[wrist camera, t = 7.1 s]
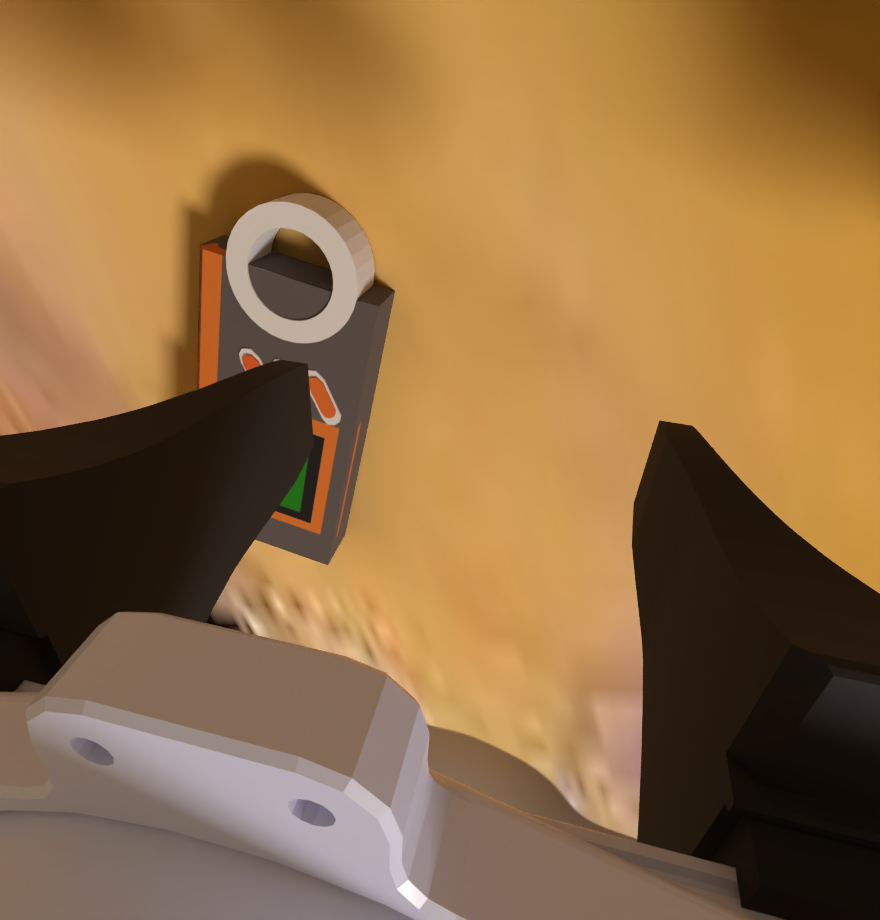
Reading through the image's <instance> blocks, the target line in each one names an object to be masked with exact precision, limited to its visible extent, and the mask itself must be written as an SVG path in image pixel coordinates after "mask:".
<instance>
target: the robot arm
mask: <svg viewBox="0 0 880 920" xmlns="http://www.w3.org/2000/svg"><path fill="white" fill-rule="evenodd" d="M313 446H314V440H313V426H312V413H311V400H310V386H309V373H308V364H305V363H299V362H293V361H287V360H277V361H273V362H269V363H266V364H263V365H260V366H257V367H255V368H252V369H249V370H247V371H244V372H241V373H239V374H236V375H234V376H231V377H229V378H226V379H223V380H221V381H218V382H216V383H213V384H211V385H208V386H205V387H203V388H200V389H197V390H195V391H192V392H189V393H186V394H183V395H180V396H177V397H174V398H172V399H169V400H166V401H163V402H160V403H157V404H154V405H151V406H148V407H144V408H141V409H137V410H134V411H130V412H126V413H122V414H119V415H115V416H111V417H107V418H103V419H98V420H94V421H89V422H83V423H78V424H73V425H67V426H62V427H57V428H52V429H46V430H40V431H34V432H26V433H19V434H11V435H3V436H0V920H880V594H879V593H878V592H876V591H875V590H873V589H872V588H870V587H869V586H867V585H866V584H864V583H863V582H861V581H860V580H858V579H857V578H855V577H854V576H852V575H851V574H849V573H848V572H846V571H845V570H844V569H842V568H841V567H839V566H838V565H837V564H835V563H834V562H832V561H831V560H830V559H828V558H827V557H826V556H824V555H823V554H822V553H820V552H819V551H818V550H817V549H816V548H814V547H813V546H812V545H811V544H809V543H808V542H807V541H806V540H804V539H803V538H802V537H801V536H799V535H798V534H797V533H796V532H794V531H793V530H792V529H791V528H790V527H789V526H787V525H786V524H785V523H784V522H783V521H782V520H781V519H780V518H779V517H778V516H776V515H775V514H774V513H773V512H772V511H771V510H770V509H769V508H768V507H767V506H766V505H765V504H764V503H763V502H762V501H761V500H760V499H759V498H758V497H757V496H756V495H755V494H754V493H753V492H752V491H751V490H750V489H749V488H748V487H747V486H746V485H745V484H744V483H743V482H742V481H741V480H740V478H739V477H738V476H737V475H736V474H735V473H734V472H733V471H732V470H731V469H730V467H729V466H728V465H727V464H726V463H725V462H724V461H723V460H722V458H721V457H720V456H719V455H718V454H717V453H716V451H715V450H714V449H713V448H712V447H711V446H710V444H709V443H708V442H707V441H706V440H705V439H704V438H703V436H702V435H701V434H700V433H699V432H698V431H697V430H696V429H695V428H694V427H693V426H690V425H684V424H678V423H671V422H665V421H659V424H658V427H657V431H656V434H655V437H654V440H653V443H652V447H651V450H650V453H649V456H648V459H647V463H646V466H645V469H644V472H643V476H642V479H641V482H640V485H639V488H638V492H637V495H636V498H635V501H634V510H633V532H632V550H633V560H634V570H635V580H636V589H637V599H638V608H639V617H640V626H641V635H642V649H643V718H642V756H641V780H640V803H639V823H638V839H637V842H636V841H632V840H628V839H624V838H621V837H616V836H613V835H609V834H605V833H602V832H598V831H594V830H590V829H587V828H583V827H579V826H575V825H571V824H567V823H564V822H560V821H556V820H553V819H549V818H545V817H541V816H537V815H534V814H530V813H526V812H522V811H519V810H517V809H515V808H513V807H511V806H509V805H506V804H504V803H502V802H500V801H498V800H496V799H494V798H491V797H489V796H487V795H485V794H483V793H481V792H479V791H476V790H474V789H472V788H470V787H468V786H465V785H463V784H461V783H459V782H457V781H455V780H453V779H451V778H448V777H446V776H444V775H442V774H440V773H438V772H435V771H433V770H431V769H429V768H428V763H427V756H428V746H429V731H428V728H427V725H426V722H425V719H424V716H423V713H422V710H421V707H420V705H419V704H418V702H417V701H416V700H415V698H414V697H413V696H411V695H410V694H409V693H408V692H407V691H406V690H405V689H403V688H402V687H401V686H400V685H399V684H398V683H397V682H396V681H394V680H393V679H392V678H391V677H390V676H389V675H388V674H386V673H385V672H383V671H380V670H378V669H375V668H373V667H370V666H368V665H365V664H363V663H361V662H358V661H356V660H353V659H351V658H348V657H346V656H342V655H338V654H334V653H329V652H325V651H321V650H317V649H312V648H308V647H304V646H300V645H295V644H291V643H287V642H283V641H278V640H274V639H270V638H266V637H262V636H257V635H253V634H249V633H245V632H240V631H236V630H232V629H228V628H223V627H219V626H215V625H211V624H206V621H207V619H208V617H209V615H210V613H211V611H212V609H213V607H214V605H215V604H216V602H217V600H218V598H219V596H220V594H221V593H222V591H223V589H224V587H225V585H226V584H227V582H228V580H229V578H230V576H231V574H232V573H233V571H234V569H235V568H236V566H237V565H238V563H239V562H240V560H241V559H242V557H243V555H244V554H245V553H246V551H247V550H248V548H249V547H250V546H251V544H252V543H253V541H254V540H255V539H256V537H257V536H258V534H259V533H260V532H261V530H262V529H263V527H264V526H265V525H266V523H267V522H268V520H269V519H270V518H271V516H272V515H273V513H274V512H275V511H276V509H277V508H278V506H279V505H280V504H281V502H282V501H283V499H284V498H285V496H286V495H287V494H288V492H289V491H290V489H291V488H292V486H293V485H294V483H295V482H296V480H297V478H298V476H299V475H300V473H301V471H302V469H303V467H304V465H305V463H306V461H307V459H308V456H309V454H310V452H311V450H312V448H313Z"/></svg>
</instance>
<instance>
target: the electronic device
mask: <svg viewBox="0 0 880 920" xmlns="http://www.w3.org/2000/svg"><path fill="white" fill-rule="evenodd" d="M280 228H288V229H293V230H296V231H298V232H301V233H303V234H304V235H306V236H307V237H309V238H310V239H312V240H313V241H314V242H315V243H316V244H317V245H318V246H319V247H320V249H321V250H322V251H323V253H324V254H325V256H326V258H327V260H328V262H329V264H330V267H331V270H329V269H326V268H323V267H320V266H317V265H314V264H311V263H308V262H304V261H301V260H298V259H295V258H292V257H289V256H286V255H283V254H280V253H277V252H274V251H271V249H272V244H273V240H274V238H275V235H276V234H277V232H278V231H279V229H280ZM276 273H277V274H276ZM374 273H375V269H374V258H373V254H372V251H371V247H370V244H369V241H368V239H367V237H366V235H365V233H364V231H363V230H362V228H361V227H360V225H359V224H358V223H357V221H356V220H355V219H354V218H353V217H352V216H351V215H350V214H349V213H348V212H347V211H346V210H345V209H344V208H343V207H341V206H340V205H338V204H337V203H335V202H334V201H332V200H330V199H327V198H325V197H323V196H320V195H315V194H311V193H294V194H290V195H287V196H283V197H280V198H277V199H275V200H272V201H269V202H266V203H263V204H260V205H258V206H256V207H254V208H253V209H251V210H249V211H247V212H246V213H245V214H244V215H243V216H242V217H241V218H240V219H239V220H238V222H237V223H236V225H235V226H234V228H233V229H232V232H231V234H230V237H227V236H224V235H223V236H221V237H218V238H216V239H213V240H211V241H208V242H206V243H203V244H201V245H200V275H199V321H198V366H197V388H196V389H195V390H197V389H200V388H203V387H205V386H208V385H211V384H213V383H216V382H218V381H221V380H223V379H226V378H229V377H231V376H234V375H236V374H239V373H241V372H244V371H247V370H249V369H252V368H255V367H257V366H260V365H263V364H266V363H269V362H273V361H277V360H287V361H293V362H299V363H305V364H308V373H309V386H310V400H311V413H312V426H313V440H314V446H313V448H312V450H311V452H310V454H309V456H308V459H307V461H306V463H305V465H304V467H303V469H302V471H301V473H300V475H299V476H298V478H297V480H296V482H295V483H294V485H293V486H292V488H291V489H290V491H289V492H288V494H287V495H286V496H285V498H284V499H283V501H282V502H281V504H280V505H279V506H278V508H277V509H276V511H275V512H274V513H273V515H272V516H271V518H270V519H269V520H268V522H267V523H266V525H265V526H264V527H263V529H262V530H261V532H260V533H259V534H258V536H257V537H256V539H255V540H258V541H261V542H264V543H267V544H269V545H272V546H275V547H278V548H281V549H284V550H286V551H289V552H292V553H295V554H298V555H301V556H303V557H306V558H309V559H312V560H315V561H318V562H320V563H323V564H326V565H328V564H329V562H330V560H331V559H332V557H333V555H334V553H335V551H336V550H337V548H338V546H339V544H340V543H341V541H342V539H343V537H344V536H345V532H346V527H347V522H348V518H349V513H350V508H351V504H352V499H353V494H354V489H355V485H356V480H357V475H358V470H359V466H360V461H361V456H362V452H363V447H364V442H365V437H366V433H367V428H368V423H369V418H370V413H371V408H372V403H373V398H374V393H375V388H376V383H377V378H378V373H379V368H380V363H381V358H382V353H383V348H384V343H385V338H386V333H387V328H388V323H389V318H390V313H391V308H392V303H393V298H394V293H395V291H394V290H391V289H388V288H385V287H382V286H379V285H375V284H373V283H374ZM279 274H280V275H279ZM282 275H283V276H282ZM285 276H286V277H285ZM288 277H289V278H288ZM291 278H292V279H291ZM294 279H295V280H294ZM297 280H298V281H297ZM300 281H301V282H300ZM303 282H304V283H303ZM306 283H308V284H306ZM309 284H311V285H309ZM312 285H314V286H312ZM315 286H317V287H315ZM318 287H320V288H318ZM321 288H323V289H321ZM324 289H326V290H324ZM327 290H329V291H327ZM330 291H332V292H330ZM195 390H193V391H195Z"/></svg>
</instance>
